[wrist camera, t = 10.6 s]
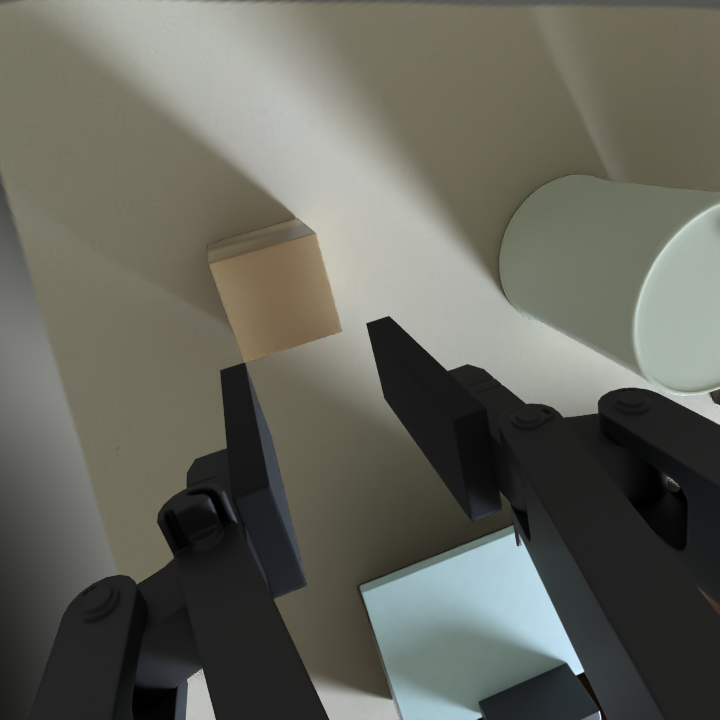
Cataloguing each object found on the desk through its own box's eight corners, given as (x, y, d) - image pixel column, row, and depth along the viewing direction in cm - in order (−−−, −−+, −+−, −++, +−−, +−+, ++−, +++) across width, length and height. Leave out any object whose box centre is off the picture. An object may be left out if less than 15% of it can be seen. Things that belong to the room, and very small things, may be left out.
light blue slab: (408, 740, 34) (431, 806, 31) (359, 585, 28) (380, 645, 25) (627, 644, 36) (670, 695, 33) (620, 482, 31) (671, 524, 27)
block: (237, 331, 31) (243, 363, 27) (206, 244, 29) (207, 263, 25) (322, 304, 32) (342, 331, 27) (298, 217, 30) (315, 232, 25)
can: (650, 188, 35) (853, 212, 24) (602, 329, 38) (764, 407, 27) (521, 161, 32) (686, 173, 21) (481, 315, 35) (608, 396, 24)
